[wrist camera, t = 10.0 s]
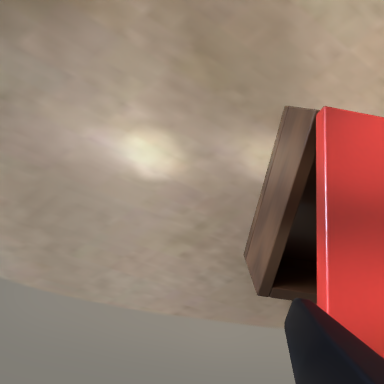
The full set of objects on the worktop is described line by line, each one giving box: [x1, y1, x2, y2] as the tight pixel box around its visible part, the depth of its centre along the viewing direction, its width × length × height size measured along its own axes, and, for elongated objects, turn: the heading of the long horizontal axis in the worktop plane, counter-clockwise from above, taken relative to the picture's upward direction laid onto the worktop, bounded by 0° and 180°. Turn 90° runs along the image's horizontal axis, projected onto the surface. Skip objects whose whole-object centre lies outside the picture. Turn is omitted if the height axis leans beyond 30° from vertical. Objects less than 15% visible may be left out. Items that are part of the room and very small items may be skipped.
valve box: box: [244, 106, 320, 304], centre depth 19 cm, size 12×16×5 cm
